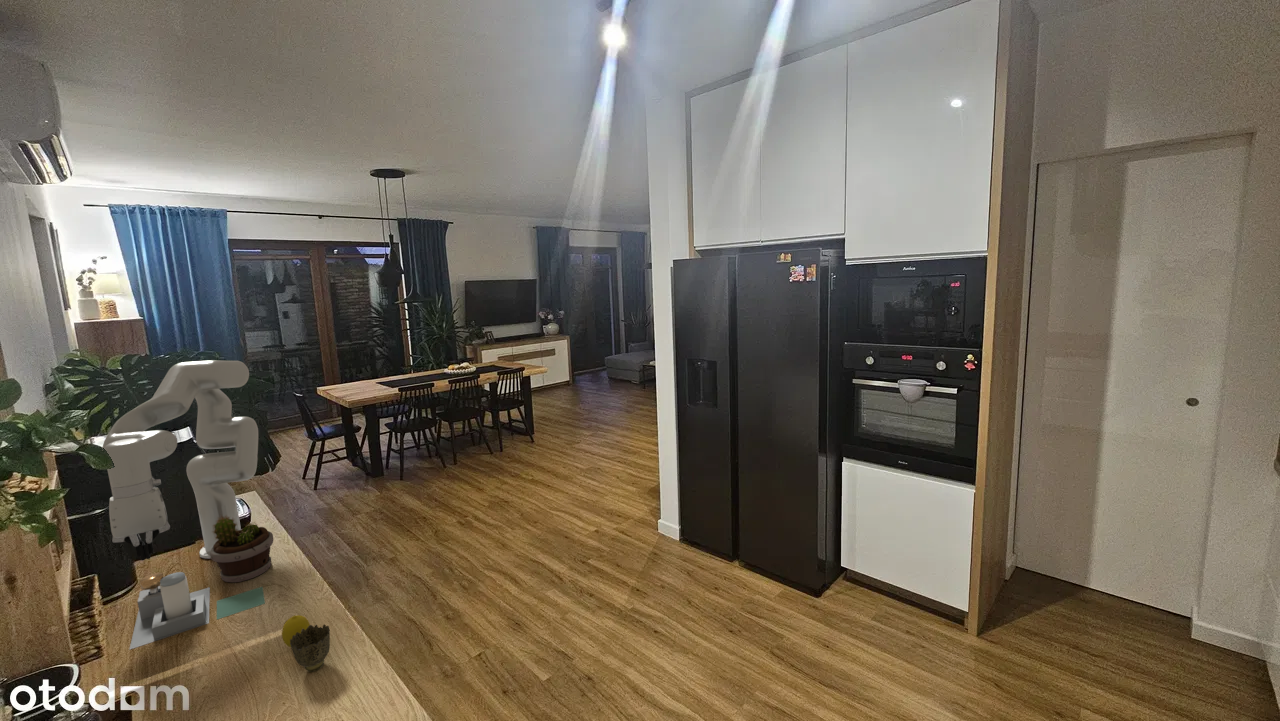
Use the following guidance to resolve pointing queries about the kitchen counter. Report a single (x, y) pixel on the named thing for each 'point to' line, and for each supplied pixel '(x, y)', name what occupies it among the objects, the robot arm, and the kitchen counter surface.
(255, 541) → the flowerpot
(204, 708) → the kitchen counter surface
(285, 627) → the lemon
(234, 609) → the mat
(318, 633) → the spiky dark pot
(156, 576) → the plunger
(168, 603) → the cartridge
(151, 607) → the grey base with tray
